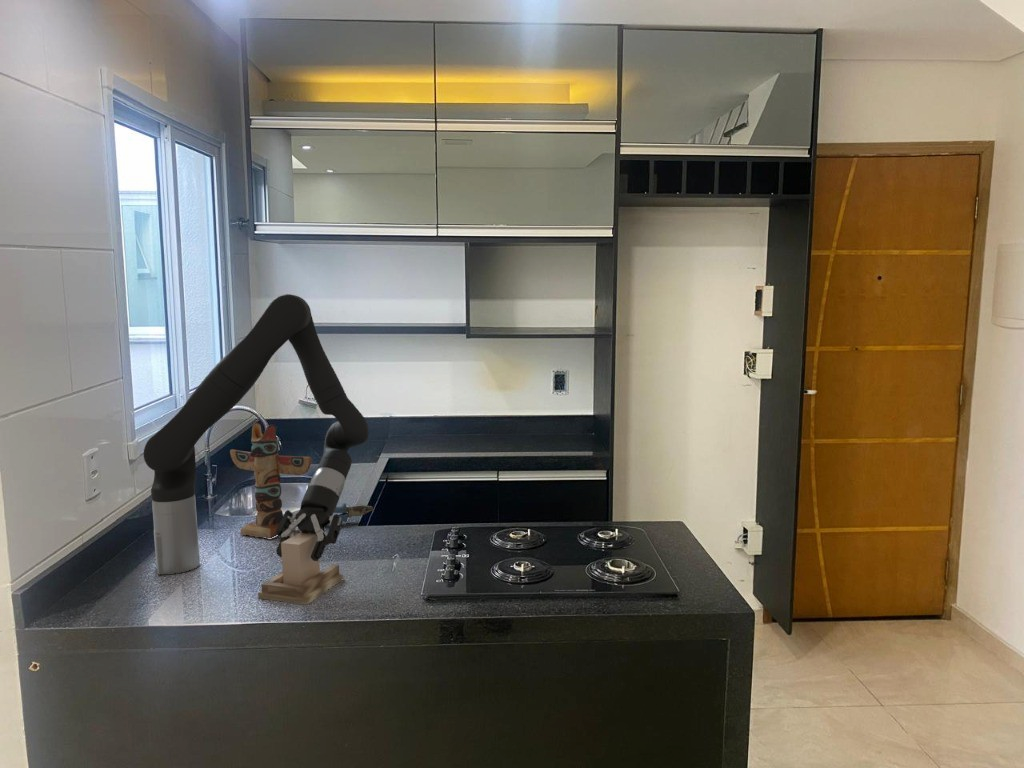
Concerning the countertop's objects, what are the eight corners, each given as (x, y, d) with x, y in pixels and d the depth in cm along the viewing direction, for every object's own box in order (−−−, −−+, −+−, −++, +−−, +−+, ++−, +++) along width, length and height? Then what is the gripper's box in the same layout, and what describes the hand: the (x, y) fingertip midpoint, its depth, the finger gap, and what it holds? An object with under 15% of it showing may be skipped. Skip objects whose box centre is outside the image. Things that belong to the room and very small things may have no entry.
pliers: (372, 518, 203) (371, 498, 203) (374, 520, 202) (373, 500, 201) (301, 528, 195) (300, 508, 195) (302, 530, 193) (301, 510, 193)
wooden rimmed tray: (307, 604, 145) (306, 589, 144) (258, 598, 148) (257, 583, 148) (343, 579, 158) (342, 565, 158) (297, 573, 162) (296, 560, 161)
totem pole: (216, 531, 194) (209, 424, 191) (237, 523, 201) (230, 420, 198) (296, 544, 182) (290, 430, 179) (316, 535, 189) (310, 425, 185)
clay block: (301, 590, 149) (299, 544, 148) (283, 588, 150) (280, 542, 149) (320, 577, 156) (317, 534, 155) (302, 575, 157) (300, 532, 156)
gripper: (289, 481, 160) (260, 547, 151) (344, 485, 156) (317, 553, 146) (304, 498, 166) (277, 562, 156) (357, 502, 161) (333, 568, 152)
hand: (296, 557), depth 151 cm, fingers open, 8 cm apart
